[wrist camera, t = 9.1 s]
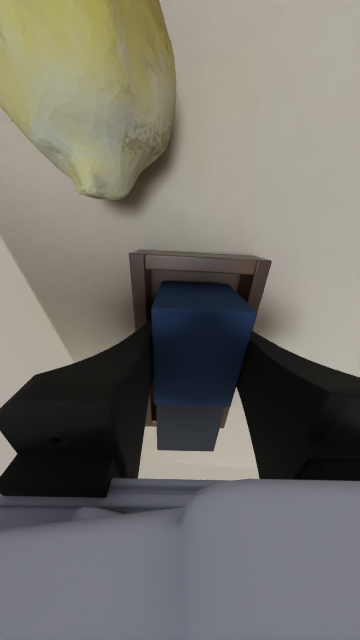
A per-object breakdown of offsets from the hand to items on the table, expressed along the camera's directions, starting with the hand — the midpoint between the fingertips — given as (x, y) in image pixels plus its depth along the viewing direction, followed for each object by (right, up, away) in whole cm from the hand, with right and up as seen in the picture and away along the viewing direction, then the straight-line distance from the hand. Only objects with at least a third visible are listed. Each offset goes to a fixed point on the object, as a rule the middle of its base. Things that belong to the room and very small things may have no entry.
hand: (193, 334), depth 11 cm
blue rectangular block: (0, +1, +1) cm, 1 cm away
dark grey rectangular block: (0, -5, +5) cm, 7 cm away
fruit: (-4, +12, -3) cm, 13 cm away
